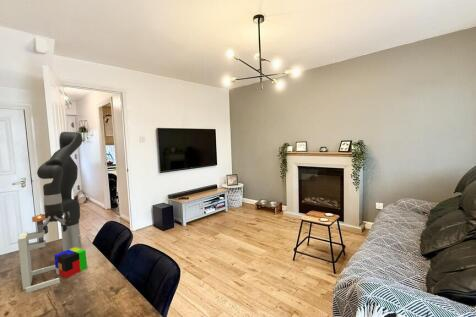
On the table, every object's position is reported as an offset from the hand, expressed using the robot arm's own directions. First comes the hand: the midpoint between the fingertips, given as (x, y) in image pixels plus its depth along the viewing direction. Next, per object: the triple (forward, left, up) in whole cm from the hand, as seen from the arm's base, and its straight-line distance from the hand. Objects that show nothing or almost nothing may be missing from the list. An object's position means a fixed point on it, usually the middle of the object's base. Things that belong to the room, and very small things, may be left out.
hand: (55, 232), depth 123 cm
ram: (+5, +8, -4) cm, 11 cm away
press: (+5, +8, -20) cm, 22 cm away
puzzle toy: (-6, +8, -20) cm, 23 cm away
